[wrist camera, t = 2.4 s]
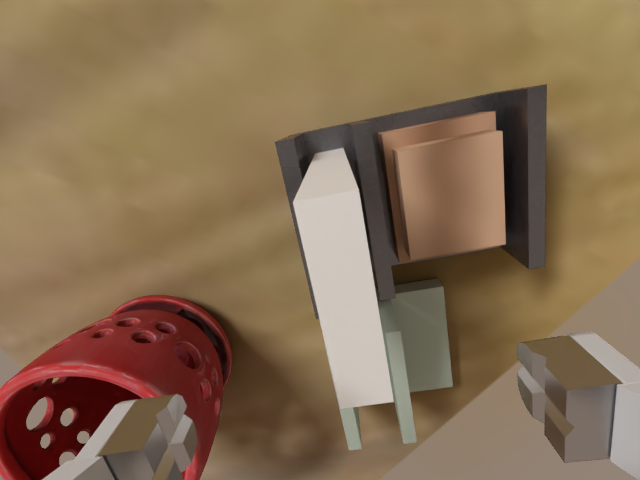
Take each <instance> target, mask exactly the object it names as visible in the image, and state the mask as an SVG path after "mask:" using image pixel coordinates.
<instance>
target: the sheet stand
mask: <svg viewBox="0 0 640 480" xmlns="http://www.w3.org/2000/svg"><path fill="white" fill-rule="evenodd" d="M394 289H395V296H396V298H393V299H387V300H381V301H380V297H379V294H378V290H377V288H375V291H376V297H377V303H378V309H379V315H380V321H381V327H382V333H383V339H384V345H385V351H386V357H387V363H388V369H389V375H390V382H391V388H392V394H393V398H394V403H395V407H396V412H397V416H398V421H399V425H400V430H401V435H402V439H403V444H406V443H415V442H417V441H416V434H415V427H414V420H413V413H412V406H411V399H410V392H418V391H425V390H433V389H440V388H448V387H453V383H452V372H451V362H450V351H449V341H448V330H447V320H446V309H445V298H444V288H443V285H442V284H441V282H440V281H439V279H438V278H436V279H429V280H423V281H417V282H411V283H405V284H399V285H394ZM324 344H325V341H324ZM325 348H326V345H325ZM326 352H327V349H326ZM327 357H328V354H327ZM328 361H329V358H328ZM329 366H330V362H329ZM330 370H331V367H330ZM331 374H332V371H331ZM332 379H333V376H332ZM333 383H334V380H333ZM334 387H335V384H334ZM335 392H336V389H335ZM336 396H337V393H336ZM337 400H338V397H337ZM338 405H339V402H338ZM339 409H340V406H339ZM340 413H341V418H342V422H343V426H344V431H345V435H346V439H347V444H348V448H349V450H356V449H362V445H361V434H360V423H359V412H358V407H351V408H344V409H340Z"/></svg>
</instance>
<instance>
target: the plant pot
mask: <svg viewBox="0 0 640 480" xmlns="http://www.w3.org/2000/svg"><path fill="white" fill-rule="evenodd" d="M231 370H232V350H231V346H230V343H229V340H228V338H227V336H226V333H225V332H224V330H223V328H222V327H221V326H220V324H219V323H218V322H217V321H216V320H215V319H214V318H213V317H212V316H211V315H210V314H209V313H208V312H207V311H205V310H204V309H202V308H201V307H199V306H197V305H196V304H194V303H191V302H189V301H187V300H184V299H181V298H177V297H173V296H166V295H149V296H143V297H139V298H136V299H133V300H131V301H128V302H127V303H125V304H123V305H121V306H120V307H119V308H117V309H116V310H115V311H114V312H113V313H112V314H111V315H110V316H109V317H108V318H105V319H102V320H100V321H98V322H95V323H93V324H91V325H89V326H87V327H85V328H83V329H81V330H79V331H78V332H76V333H74V334H72V335H71V336H69V337H67V338H65V339H64V340H62V341H61V342H59V343H58V344H56V345H55V346H53V347H52V348H50V349H49V350H47V351H46V352H45V353H43V354H42V355H41V356H39V357H38V358H37V359H35V360H34V361H33V362H31V363H30V364H29V365H27V366H26V367H25V368H23V369H22V370H21V371H20V372H19V373H17V374H16V375H15V376H14V377H13V378H11V379H10V380H9V381H8V382H7V383H6V384H4V385H3V387H2V388H1V389H0V475H1V477H2V478H3V479H4V480H42V479H44V478H45V477H46V476H48V475H49V474H50V473H52V472H53V471H54V470H56V469H57V468H59V467H60V465H59V457H60V456H61V454H62V453H63V452H72V453H73V454H74V455H75V457H76V456H77V455H78V454H79V452H80V451H81V450H82V448H83V447H84V446H85V444H86V443H85V444H81V443H79V442H78V441H77V435H78V433H79V432H80V431H86V432H88V433H89V436H90V438H91V436H92V435H93V434H94V432H95V431H96V430H97V428H98V427H99V426H100V424H101V423H102V422H103V420H104V419H105V418H106V416H107V415H108V414H109V412H110V411H111V410H112V409H113V407H114V406H115V405H116V404H118V403H120V402H122V401H129V400H136V399H142V398H150V397H158V396H166V395H174V394H178V395H181V396H182V397H183V399H184V401H185V403H186V405H187V408H186V410H185V413H184V414H185V415H186V416H187V417H189V418H190V419H192V420H193V422H194V425H195V428H196V434H197V443H196V451H195V454H194V457H193V459H192V462H191V463H190V464H189V465H188V466H187V468H186V469H185V471H183V472H182V476H183V480H199V479H200V477H201V475H202V472H203V470H204V467H205V465H206V462H207V459H208V456H209V453H210V450H211V447H212V444H213V441H214V437H215V434H216V431H217V428H218V423H219V418H220V412H221V406H222V400H223V389H224V387H225V386H226V384H227V382H228V380H229V377H230V374H231ZM57 377H59V378H58V380H57V381H55V382H54V383H52V380H53V378H57ZM43 397H46V399H47V410H46V414H45V416H44V418H43V420H42V421H41V423H40V424H39V425H38V426H37V427H35V428H33V429H32V430H29V429H27V426H26V419H27V416H28V414H29V412H30V410H31V409H32V407H33V406H34V405H35V404H36V403H37V401H38V400H39V399H41V398H43ZM67 408H71V409H72V410H73V412H74V418H73V421H72V422H71V423H70V424H69V425H68V426H66V427H65V426H63V425H62V424H61V422H60V417H61V415H62V412H63V411H64V410H65V409H67ZM46 433H48V434H49V435H50V439H51V440H50V444H49V446H48V447H47V448H46V449H44V448H42V447H41V445H40V441H41V437H42V436H43V435H44V434H46ZM90 438H89V439H90Z"/></svg>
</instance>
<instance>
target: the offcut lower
mask: <svg viewBox="0 0 640 480" xmlns="http://www.w3.org/2000/svg"><path fill="white" fill-rule="evenodd" d="M484 130H496V113H495V111H492V112H479V113H474V114H469V115H464V116H459V117H454V118H450V119H445V120H440V121H435V122H430V123H425V124H420V125H415V126H410V127H405V128H401V129H396V130H391V131H386V132H381V133H378V138H379V145H380V152H381V159H382V166H383V173H384V181H385V188H386V195H387V202H388V209H389V216H390V223H391V231H392V238H393V245H394V252H395V255H396V257H397V259H398V261H399V263H405V262H411V261H417V260H423V259H429V258H435V257H441V256H447V255H452V254H458V253H464V252H470V251H476V250H482V249H488V248H494V247H500V245H499V246H493V247H487V248H481V249H475V250H469V251H463V252H457V253H451V254H445V255H439V256H433V257H427V258H421V259H416V260H410V258H409V256H408V254H407V253H406V251H405V247H404V240H403V232H402V224H401V216H400V209H399V201H398V193H397V186H396V178H395V170H394V162H393V155H392V149H394V148H399V147H404V146H409V145H414V144H419V143H424V142H429V141H434V140H439V139H444V138H449V137H454V136H459V135H464V134H469V133H474V132H479V131H484Z"/></svg>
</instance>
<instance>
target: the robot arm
mask: <svg viewBox="0 0 640 480" xmlns="http://www.w3.org/2000/svg"><path fill="white" fill-rule="evenodd" d="M517 358H518V360H519V361H520V362H521V364H523V366H522V368H521V369H520V370H519V372H518V373H517V377H518V387H519V391H520V394H521V398H522V400H523V402H524V404H525V406H526V408H527V409H528V411H529V412H530V414H531V415H532V417H534V418H535V419H537V420H539V421H541V422H542V423H544V424H545V436H546V437H547V438H548V440H549V441H550V443H551V444H552V446H553V447H554V448H555V450H556V451H557V453H558V454H559V455H560V457H561V458H562V460H563V461H564V462H565V463H568V462H578V461H589V460H600V459H610V461H611V462H613V463H614V464H616V465H617V466H619V467H620V468H622V469H623V470H625V471H626V472H628V473H629V474H631V475H632V476H634V477H635V478H637V479H638V480H640V368H638V367H637V366H636V365H635V364H633V363H632V362H631V361H630V360H628V359H627V358H626V357H624V356H623V355H622V354H620V353H619V352H618V351H617V350H615V349H614V348H613V347H612V346H611V345H609V344H608V343H607V342H605V341H604V340H603V339H602V338H600V337H599V336H598V335H597V334H595V333H593V332H590V331H584V332H578V333H572V334H566V335H564V336H558V337H552V338H545V339H539V340H532V341H526V342H520V343H518V346H517ZM186 408H187V405H186V403H185V401H184V399H183V397H182V396H181V395H178V394H174V395H166V396H158V397H150V398H142V399H136V400H129V401H122V402H120V403H118V404H116V405H115V406H114V407H113V409H112V410H111V411H110V412H109V414H108V415H107V416H106V418H105V419H104V420H103V422H102V423H101V424H100V426H99V427H98V428H97V430H96V431H95V432H94V434H93V435H92V436H91V438H90V439H89V441H88V442H87V443H86V444H85V446H84V447H83V448H82V450H81V451H80V452H79V454H78V455H77V456H76V458H75V459H74V460H71V461H67V462H65V463H64V464H63V465H61V466H60V467H59V468H57V469H56V470H54V471H53V472H52V473H50V474H49V475H48V476H46V477H45V478H44V479H42V480H183V476H182V472H183V471H184V470H185V469H186V468H187V466H188V465H189V464H190V463H191V462H192V459H193V457H194V454H195V451H196V443H197V434H196V428H195V425H194V422H193V420H192V419H190V418H189V417H187V416H186V415H185V414H184V413H185V410H186Z"/></svg>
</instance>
